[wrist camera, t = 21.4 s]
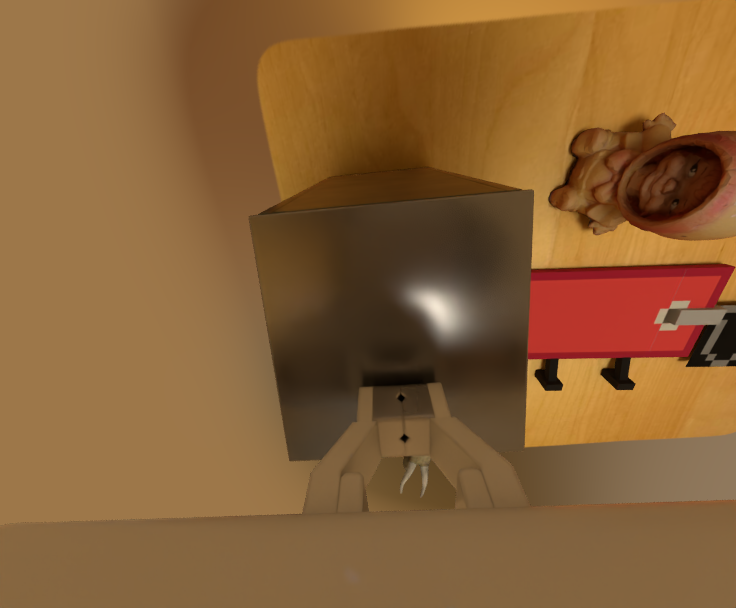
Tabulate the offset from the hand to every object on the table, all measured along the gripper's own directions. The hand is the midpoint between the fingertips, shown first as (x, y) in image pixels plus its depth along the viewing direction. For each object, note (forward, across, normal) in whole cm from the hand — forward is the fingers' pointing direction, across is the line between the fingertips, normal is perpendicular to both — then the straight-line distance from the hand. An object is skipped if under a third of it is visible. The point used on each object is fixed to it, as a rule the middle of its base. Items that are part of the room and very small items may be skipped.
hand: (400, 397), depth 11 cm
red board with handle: (+22, -28, +13) cm, 38 cm away
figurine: (+22, -21, -4) cm, 31 cm away
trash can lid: (+2, 0, -2) cm, 2 cm away
